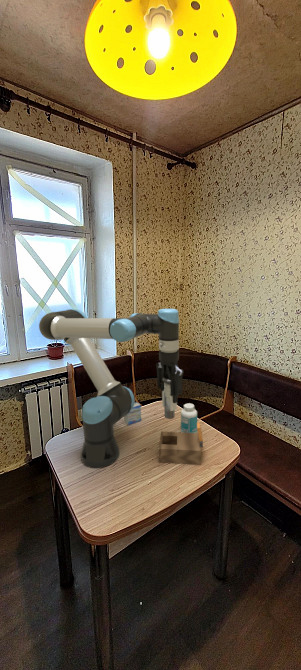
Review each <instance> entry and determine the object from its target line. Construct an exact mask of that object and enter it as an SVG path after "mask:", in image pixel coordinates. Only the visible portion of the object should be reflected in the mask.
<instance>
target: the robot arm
mask: <svg viewBox="0 0 301 670" xmlns="http://www.w3.org/2000/svg"><path fill="white" fill-rule="evenodd" d="M38 327H39V328H38V330H39V332H40V334H41V335H42V336H43V337H44V338H45V339H48V340H53V341H54V340H58V341H59V340H60V341H62V340H64V343H65V344H66V345H68V346H69V345H70V346H71V347H72V349H73V351H74V354H75V355H76V356H77V358H78V360H79V361H80V363H81V365H82V366H83V368H84V370H85V371H86V373H87V375H88V377H89V378H90V380H91V382H92V383H93V385H94V387H95V388H96V390H97V394H96V395H97V396H96V397H91V398H89V399H88V400H87V401H85V403H84V404H83V406H82V408H81V409H82V413H81V418H82V426H83V427H82V428H83V437H84V440H83V445H82V448H81V451H80V453H81V454H80V456H81V457H80V458H81V459H82V460H81V462H82V461H83V462H82V464H83V463H84V464H83V465H85V466H86V465H87V466H86V467H88V466H90V467H89V468H92V467H94V469H100V467H101V468H105V467H108V466H110V465H112V464H113V463H114V462H116V461H117V460H118V458H119V456H120V448H119V444H118V443H117V440H116V438H115V431H114V430H115V429H114V425H116V424H117V423H118V422H120V420H122V419H124V416H125V415H127V414H128V413H129V412H130V411H131V410H132V408H133V406H134V403H136V402H135V395H134V393H133V391H132V389H130V388H129V387H126V386H123V385H122V383H121V382H120V381H117V380H116V379H115V378H114V376H113V375H112V373H111V371H110V370H109V368H108V366H107V364H106V363H105V361H104V360H103V358H102V357H101V354H100V353H99V352H98V350H97V348H96V347H95V344H94V343H93V342H92V339H99V340H114V341H116V342H117V343H125V342H129V341H131V340H132V339H135V338H138V337H140V336H142V335H145V334H149V335H150V334H152V335H153V334H155V335H158V349H159V351H158V360H159V361H160V362H157V363H155V367H156V377H157V378H156V381H157V388H159V389H160V390H161V398H162V399H161V401H162V403H161V406H162V408H164V382H163V381H162V378H163V377H164V378H165V377H169V379H170V380H171V383H170V386H171V392H172V394H170V411H173V410H175V411H176V410H177V409H178V406H177V405H178V398H179V397H178V396H180V395H181V394H182V393H183V375H184V369H180V368H179V364H178V361H179V360H180V351H179V349H180V337H179V336H180V334H179V333H180V332H179V331H180V317H179V311H178V310H177V309H176V308H161V309H160V308H159V310H158V311H157V313H142V312H138V313H132V314H130V316H129V317H114V318H113V317H109V318H108V317H104V318H103V317H102V318H100V317H97V318H96V317H93V318H92V317H88V316H87V314H85V313H84V312H83V311H82V310H79V309H77V308H76V309H74V308H73V309H72V308H69V309H66V310H59V311H53V312H49V313H46V314H44V316H42V317H41V319H40V320H39V325H38Z"/></svg>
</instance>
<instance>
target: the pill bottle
mask: <svg viewBox="0 0 301 670" xmlns="http://www.w3.org/2000/svg"><path fill="white" fill-rule="evenodd" d="M197 423H198V410H196V408H195V405H194V404H193V403H190V402H189V403H185V404H183V408H182V409H181V411H180V432H183V433H198V429H197Z"/></svg>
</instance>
